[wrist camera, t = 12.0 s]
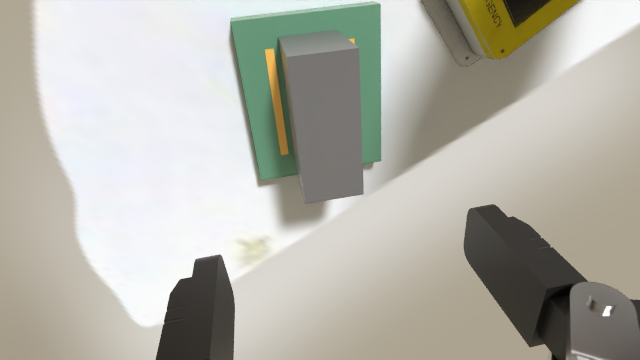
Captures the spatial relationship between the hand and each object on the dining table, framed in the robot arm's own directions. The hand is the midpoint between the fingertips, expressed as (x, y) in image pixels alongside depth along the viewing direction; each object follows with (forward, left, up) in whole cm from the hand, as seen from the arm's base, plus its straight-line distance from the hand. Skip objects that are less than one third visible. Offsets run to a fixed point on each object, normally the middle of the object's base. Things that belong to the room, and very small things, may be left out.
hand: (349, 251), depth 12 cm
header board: (+1, +2, -19) cm, 20 cm away
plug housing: (+1, +2, -18) cm, 18 cm away
